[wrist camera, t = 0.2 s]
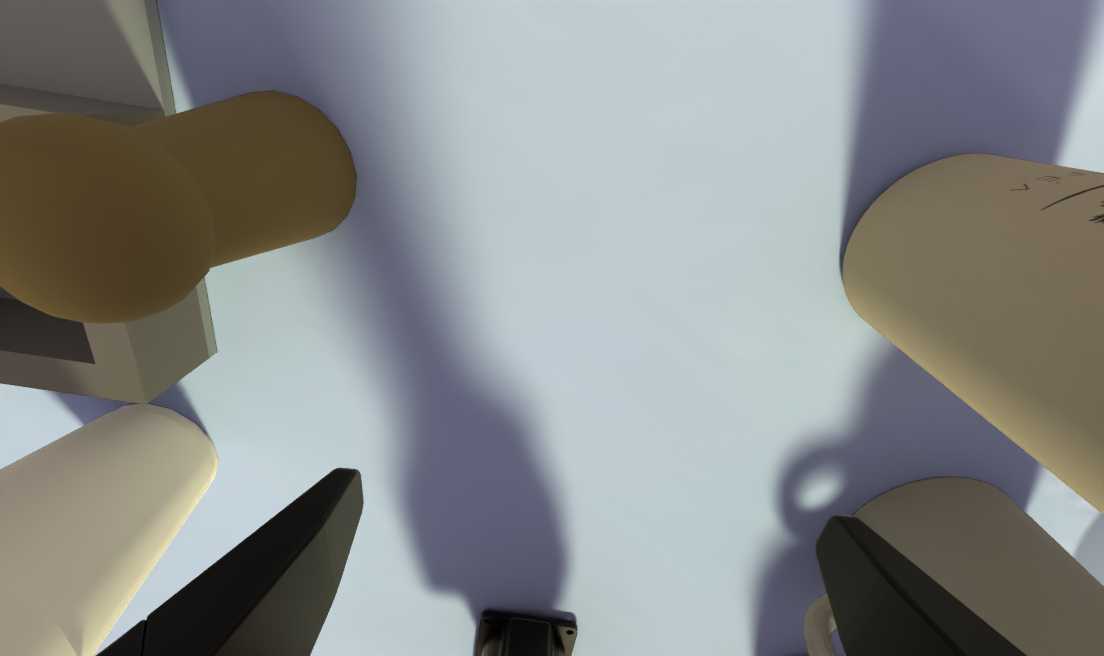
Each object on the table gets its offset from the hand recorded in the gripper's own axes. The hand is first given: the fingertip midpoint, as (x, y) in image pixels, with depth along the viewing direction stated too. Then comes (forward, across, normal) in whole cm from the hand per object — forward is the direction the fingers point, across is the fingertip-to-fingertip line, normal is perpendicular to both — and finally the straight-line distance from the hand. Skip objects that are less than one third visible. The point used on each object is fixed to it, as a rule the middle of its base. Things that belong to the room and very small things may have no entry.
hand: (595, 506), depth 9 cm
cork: (+15, +13, -2) cm, 20 cm away
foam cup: (+14, +22, +14) cm, 30 cm away
